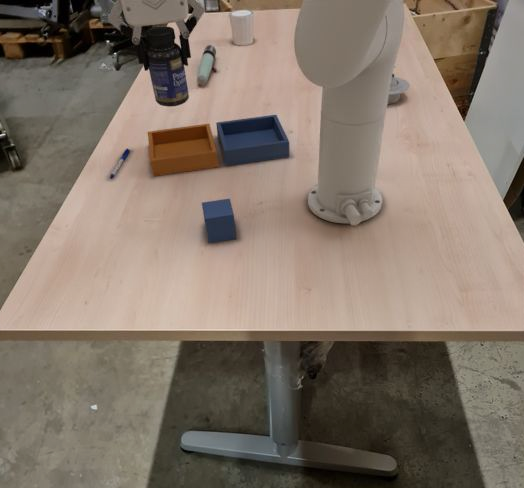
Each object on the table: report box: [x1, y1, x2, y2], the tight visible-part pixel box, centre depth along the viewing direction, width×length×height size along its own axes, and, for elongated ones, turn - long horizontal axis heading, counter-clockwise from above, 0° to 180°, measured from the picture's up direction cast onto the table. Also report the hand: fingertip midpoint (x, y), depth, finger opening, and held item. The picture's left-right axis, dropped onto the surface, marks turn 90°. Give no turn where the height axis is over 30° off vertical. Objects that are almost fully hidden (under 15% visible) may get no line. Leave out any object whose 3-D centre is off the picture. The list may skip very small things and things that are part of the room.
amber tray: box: [147, 123, 219, 177], centre depth 95 cm, size 12×13×3 cm
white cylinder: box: [228, 9, 255, 46], centre depth 134 cm, size 7×7×7 cm
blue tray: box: [215, 114, 290, 167], centre depth 96 cm, size 12×13×3 cm
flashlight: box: [196, 44, 218, 86], centre depth 123 cm, size 3×4×20 cm
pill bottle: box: [145, 25, 190, 108], centre depth 83 cm, size 6×6×11 cm
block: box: [201, 198, 237, 244], centre depth 77 cm, size 5×5×5 cm
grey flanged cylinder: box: [387, 66, 410, 105], centre depth 104 cm, size 12×10×10 cm
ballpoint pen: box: [109, 148, 130, 179], centre depth 95 cm, size 10×1×1 cm, turn 174°
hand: (166, 64), depth 83 cm, fingers closed on pill bottle, 6 cm apart
